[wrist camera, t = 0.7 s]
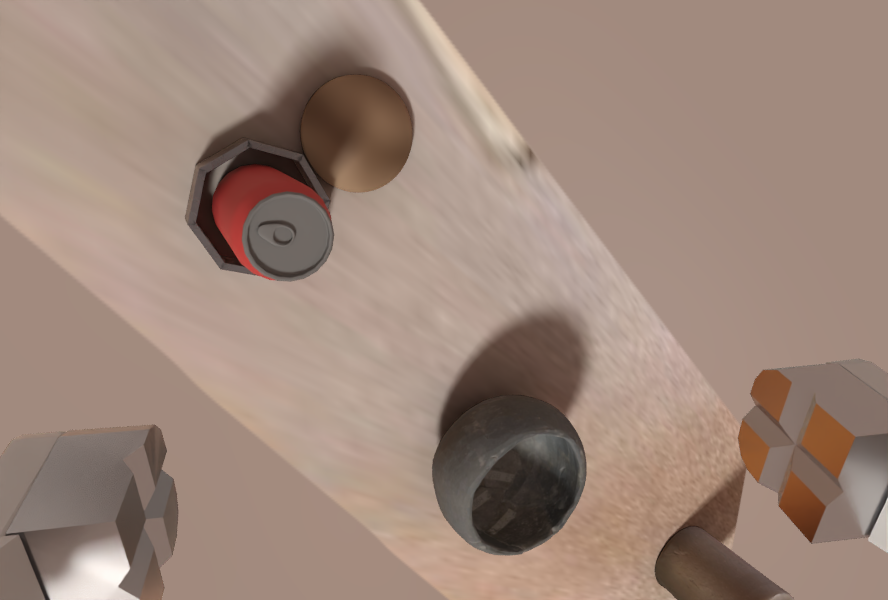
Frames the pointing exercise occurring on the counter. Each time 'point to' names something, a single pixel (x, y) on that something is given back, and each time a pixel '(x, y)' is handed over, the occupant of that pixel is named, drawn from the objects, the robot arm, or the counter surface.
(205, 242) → the can collar
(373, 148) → the walnut coaster
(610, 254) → the counter surface
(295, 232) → the beer can
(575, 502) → the bowl
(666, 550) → the pillar candle
